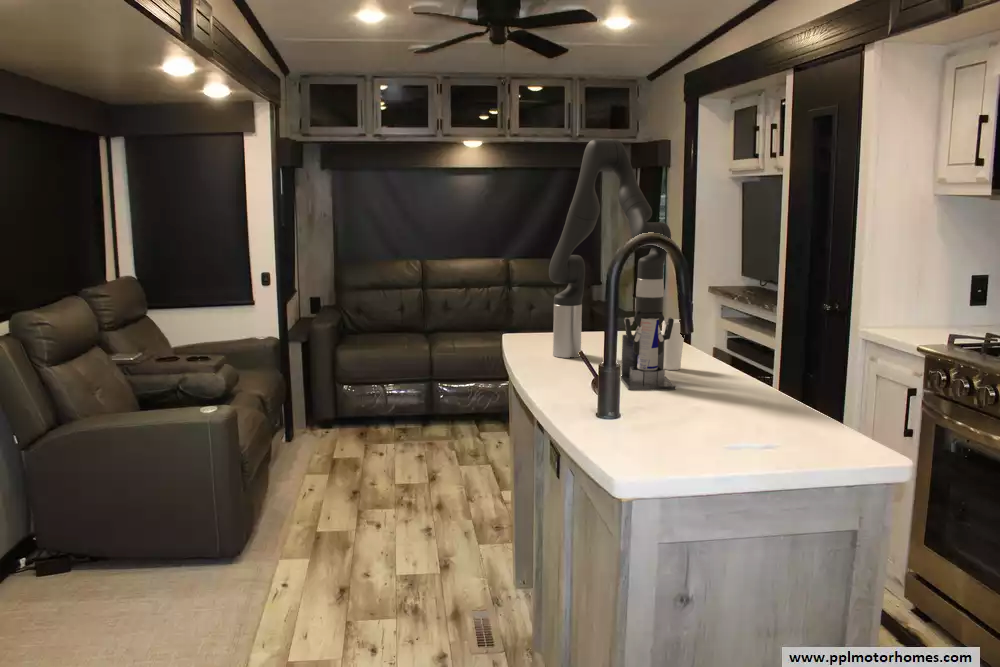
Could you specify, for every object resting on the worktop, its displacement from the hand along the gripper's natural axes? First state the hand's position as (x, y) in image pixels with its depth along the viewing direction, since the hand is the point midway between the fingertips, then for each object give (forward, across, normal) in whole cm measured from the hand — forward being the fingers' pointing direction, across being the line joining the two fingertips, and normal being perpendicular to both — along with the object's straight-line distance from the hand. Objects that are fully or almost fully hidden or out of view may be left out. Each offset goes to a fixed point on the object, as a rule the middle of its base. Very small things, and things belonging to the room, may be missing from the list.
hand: (647, 354), depth 231 cm
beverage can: (+5, 0, 0) cm, 5 cm away
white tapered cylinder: (+9, -12, -20) cm, 25 cm away
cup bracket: (+9, 0, 0) cm, 9 cm away
